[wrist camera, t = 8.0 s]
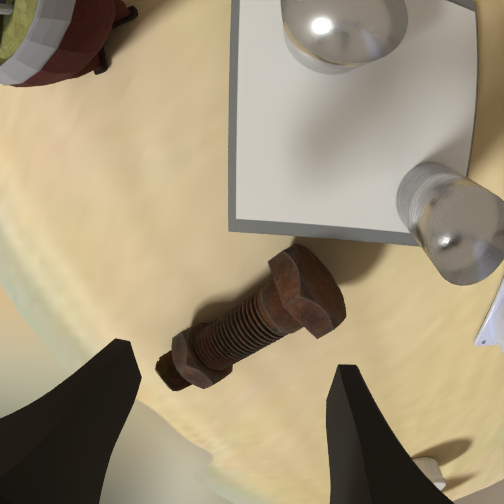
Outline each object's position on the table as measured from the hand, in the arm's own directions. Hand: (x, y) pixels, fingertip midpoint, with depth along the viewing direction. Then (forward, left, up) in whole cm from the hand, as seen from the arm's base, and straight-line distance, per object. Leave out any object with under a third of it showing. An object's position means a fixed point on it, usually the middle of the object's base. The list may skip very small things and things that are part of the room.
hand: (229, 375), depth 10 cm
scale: (-5, -10, -10) cm, 15 cm away
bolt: (+1, +6, -11) cm, 13 cm away
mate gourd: (+11, -14, -11) cm, 21 cm away
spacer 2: (-9, -5, -8) cm, 13 cm away
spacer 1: (-3, -12, -8) cm, 15 cm away
